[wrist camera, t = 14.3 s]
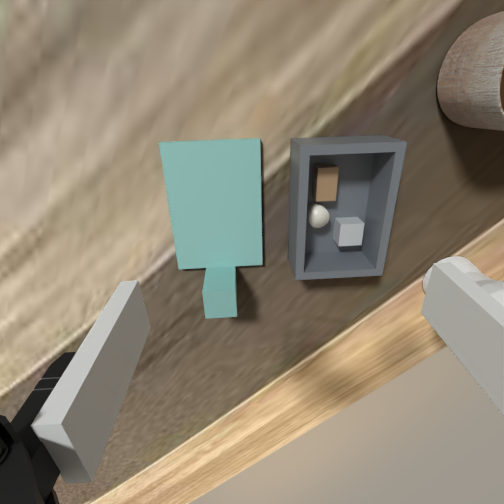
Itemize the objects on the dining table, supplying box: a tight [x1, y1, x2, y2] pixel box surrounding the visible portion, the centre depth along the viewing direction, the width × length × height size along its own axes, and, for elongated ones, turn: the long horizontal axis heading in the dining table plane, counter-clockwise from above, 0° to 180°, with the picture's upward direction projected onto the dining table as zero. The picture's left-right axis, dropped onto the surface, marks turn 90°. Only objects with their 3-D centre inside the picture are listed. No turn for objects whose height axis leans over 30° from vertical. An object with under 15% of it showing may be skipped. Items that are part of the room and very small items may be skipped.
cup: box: [423, 256, 504, 306], centre depth 40 cm, size 11×11×15 cm
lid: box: [159, 138, 263, 318], centre depth 38 cm, size 21×12×7 cm, turn 2°
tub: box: [288, 135, 407, 280], centre depth 38 cm, size 16×11×6 cm
